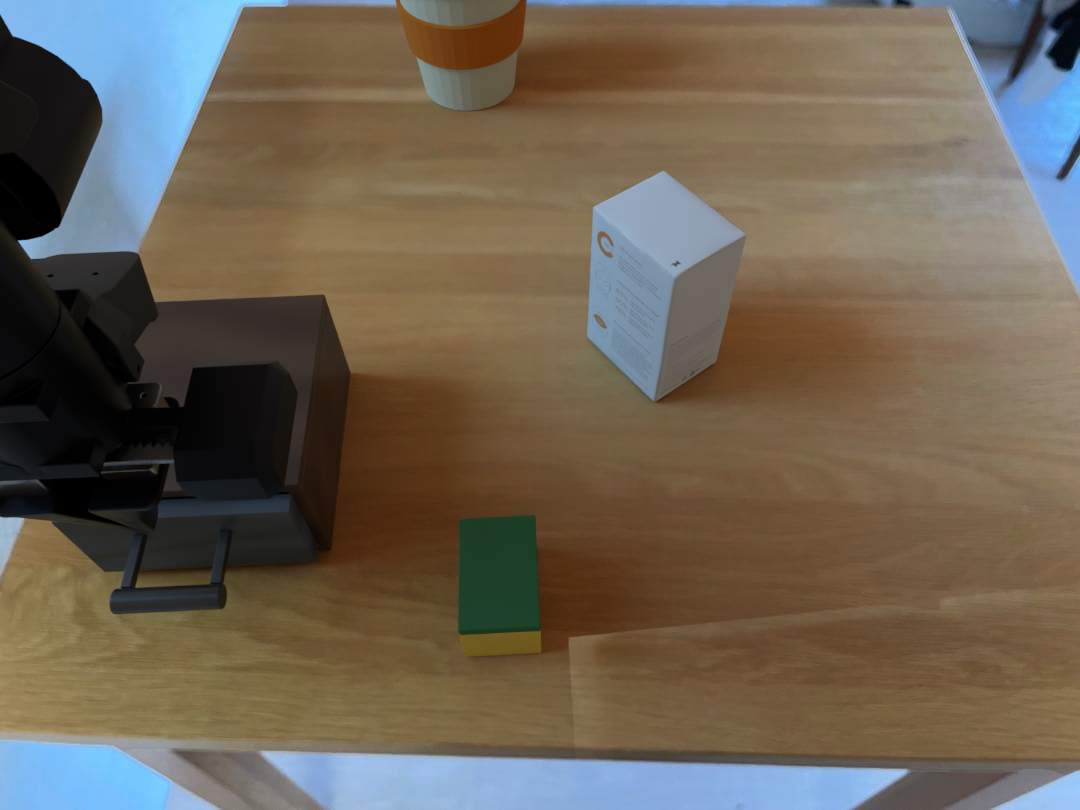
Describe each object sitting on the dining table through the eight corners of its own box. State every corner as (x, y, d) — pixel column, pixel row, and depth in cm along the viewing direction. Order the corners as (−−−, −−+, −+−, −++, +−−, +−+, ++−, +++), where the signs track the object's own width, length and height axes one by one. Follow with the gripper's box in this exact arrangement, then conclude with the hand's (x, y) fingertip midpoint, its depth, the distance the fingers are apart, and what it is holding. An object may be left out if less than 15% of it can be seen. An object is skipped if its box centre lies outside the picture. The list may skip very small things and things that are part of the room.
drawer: (308, 634, 50) (277, 590, 45) (84, 645, 50) (25, 602, 44) (337, 390, 61) (314, 329, 55) (152, 398, 60) (111, 338, 55)
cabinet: (331, 550, 54) (297, 484, 47) (106, 561, 54) (38, 497, 47) (350, 372, 63) (324, 294, 56) (155, 381, 62) (104, 303, 55)
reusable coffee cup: (406, 52, 87) (381, -103, 74) (526, 43, 87) (521, -112, 75) (407, 127, 79) (380, -31, 67) (538, 117, 80) (535, -41, 68)
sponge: (541, 653, 50) (540, 626, 46) (465, 657, 50) (457, 630, 46) (536, 546, 54) (535, 514, 50) (466, 550, 54) (459, 518, 50)
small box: (717, 363, 63) (750, 234, 52) (653, 405, 60) (674, 279, 50) (646, 299, 66) (664, 166, 56) (584, 336, 64) (589, 206, 54)
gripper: (264, 175, 36) (341, 390, 48) (-177, 194, 35) (18, 405, 48) (219, 384, 29) (321, 568, 42) (-321, 410, 29) (-52, 587, 42)
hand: (149, 522), depth 44 cm, fingers closed
